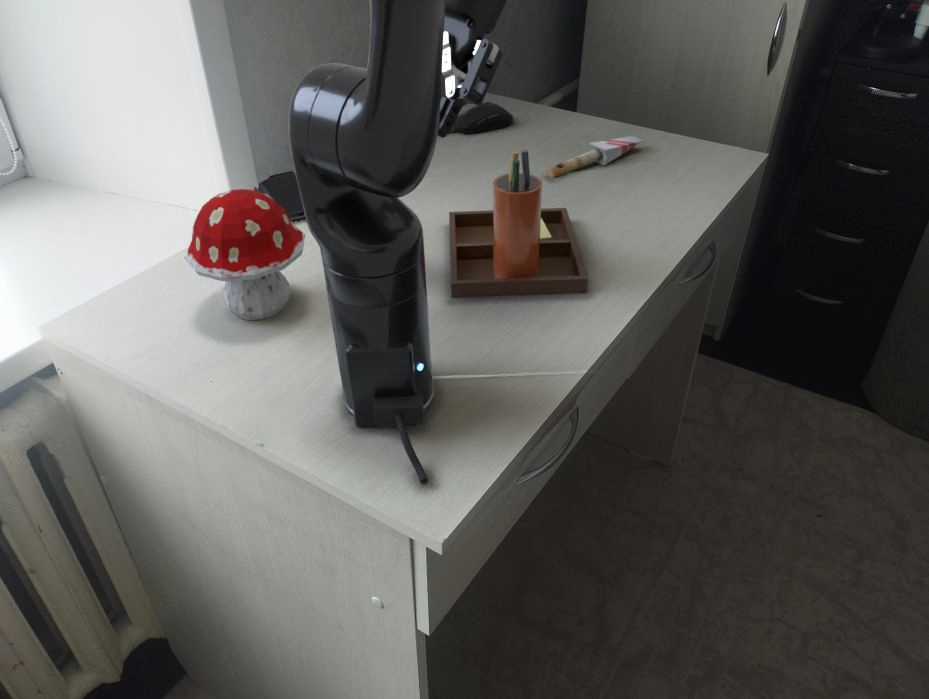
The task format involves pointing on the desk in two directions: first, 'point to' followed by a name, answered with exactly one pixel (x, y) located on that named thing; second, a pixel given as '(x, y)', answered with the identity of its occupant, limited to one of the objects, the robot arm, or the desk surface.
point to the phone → (284, 193)
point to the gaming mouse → (482, 118)
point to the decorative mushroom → (246, 250)
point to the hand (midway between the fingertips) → (411, 121)
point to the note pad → (544, 232)
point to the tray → (480, 282)
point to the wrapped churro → (596, 154)
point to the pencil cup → (516, 221)
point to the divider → (487, 249)
